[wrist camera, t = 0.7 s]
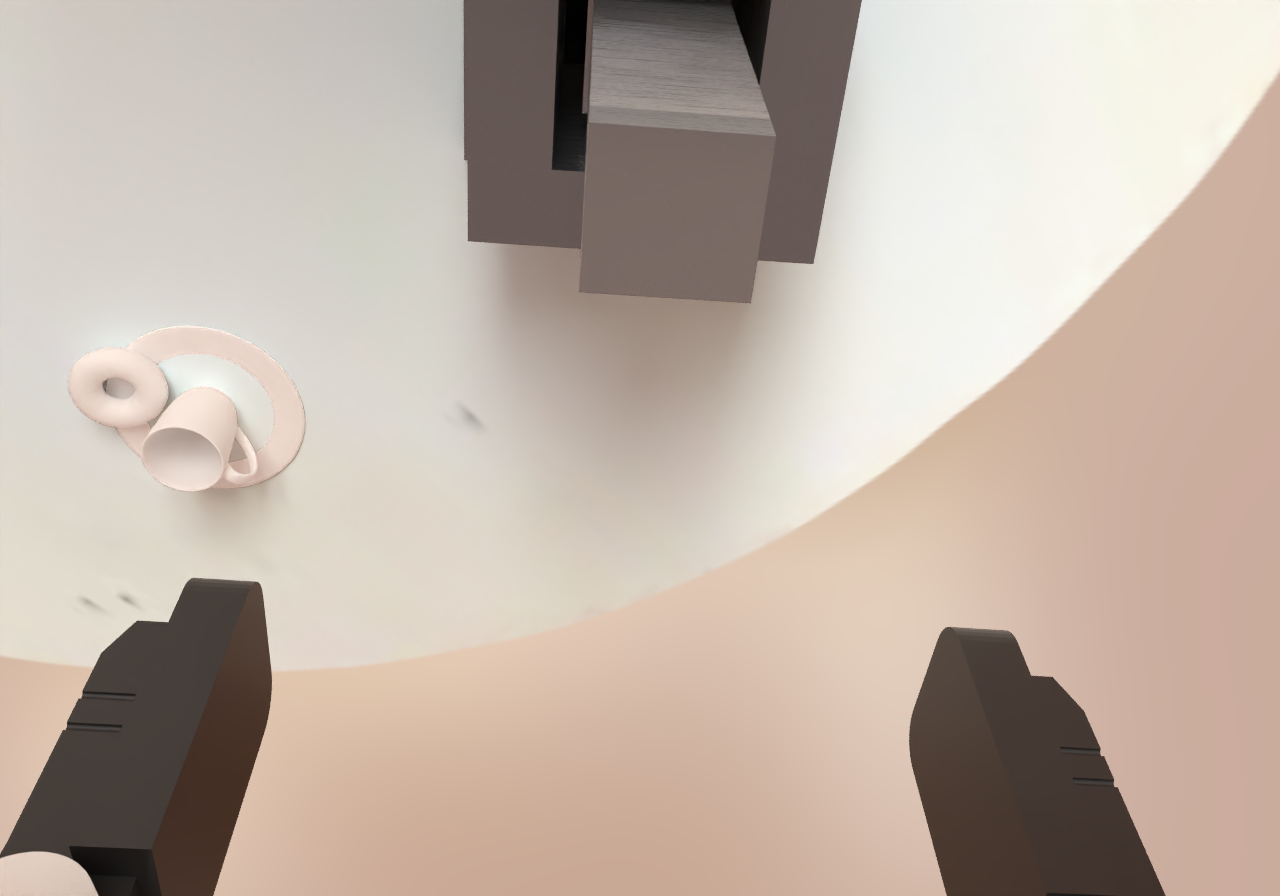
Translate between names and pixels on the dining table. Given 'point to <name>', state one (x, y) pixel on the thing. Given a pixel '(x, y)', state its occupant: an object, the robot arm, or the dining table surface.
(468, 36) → the housing
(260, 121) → the dining table surface
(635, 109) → the column
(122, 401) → the teacup and saucer
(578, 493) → the dining table surface
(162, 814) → the robot arm
